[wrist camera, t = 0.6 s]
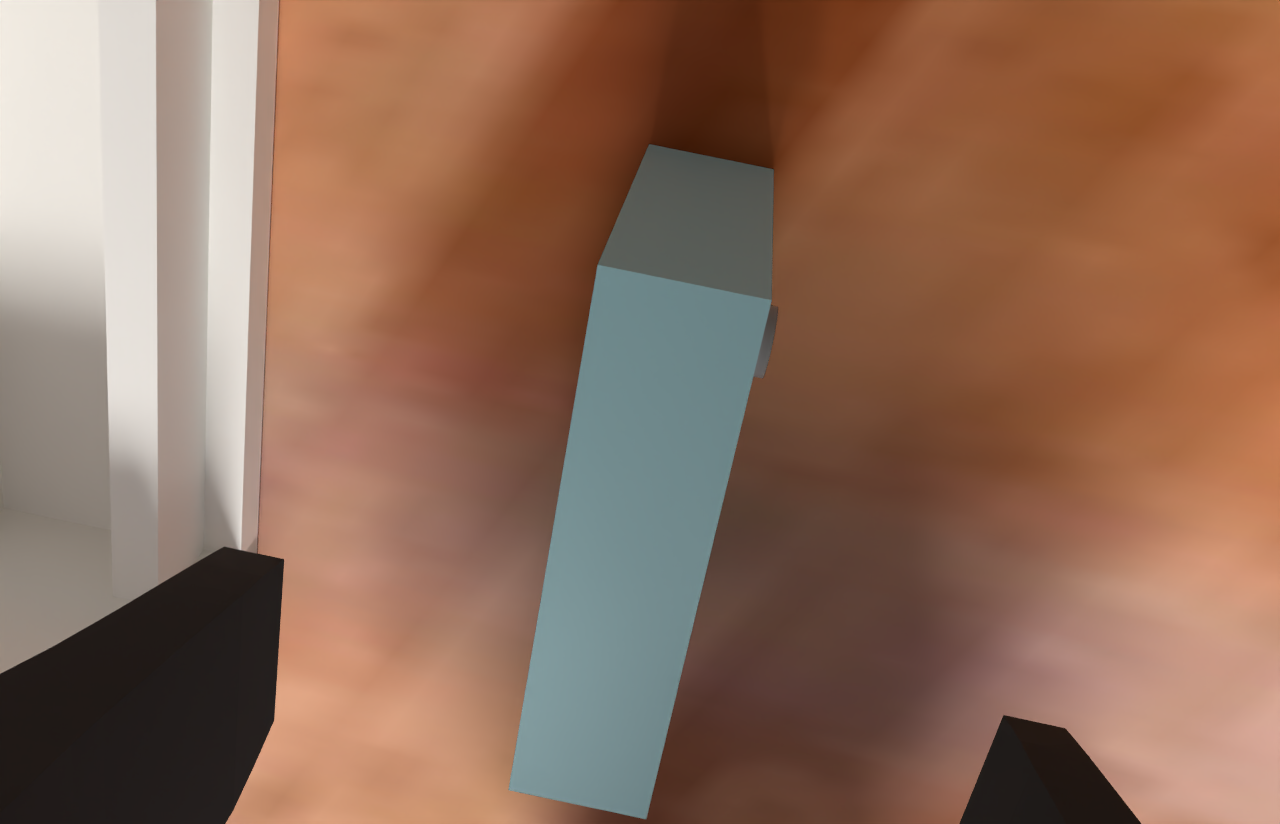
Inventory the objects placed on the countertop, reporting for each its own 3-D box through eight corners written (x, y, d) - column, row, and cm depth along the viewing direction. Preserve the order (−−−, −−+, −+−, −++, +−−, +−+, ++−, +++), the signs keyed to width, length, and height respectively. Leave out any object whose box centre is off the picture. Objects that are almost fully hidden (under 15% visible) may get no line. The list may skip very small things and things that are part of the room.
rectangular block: (694, 586, 22) (666, 823, 17) (573, 561, 22) (508, 790, 17) (792, 172, 19) (798, 306, 13) (649, 143, 19) (597, 264, 13)
